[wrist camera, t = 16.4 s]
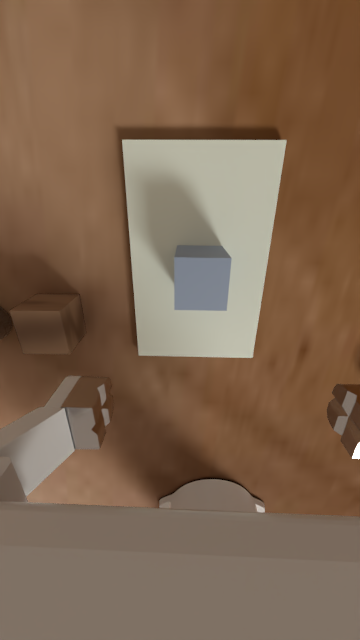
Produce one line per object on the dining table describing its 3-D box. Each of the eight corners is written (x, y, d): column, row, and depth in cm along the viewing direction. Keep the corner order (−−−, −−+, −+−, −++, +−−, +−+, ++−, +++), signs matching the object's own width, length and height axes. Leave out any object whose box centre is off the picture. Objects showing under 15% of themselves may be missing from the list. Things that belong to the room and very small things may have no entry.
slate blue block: (218, 288, 27) (226, 310, 21) (177, 288, 27) (174, 310, 22) (221, 245, 25) (231, 258, 20) (177, 245, 25) (174, 257, 20)
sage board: (250, 353, 31) (252, 357, 31) (140, 351, 32) (138, 355, 31) (282, 142, 22) (286, 139, 21) (124, 142, 22) (121, 139, 21)
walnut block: (86, 332, 31) (69, 354, 26) (47, 331, 31) (23, 353, 27) (79, 293, 29) (59, 311, 24) (37, 293, 29) (9, 310, 24)
